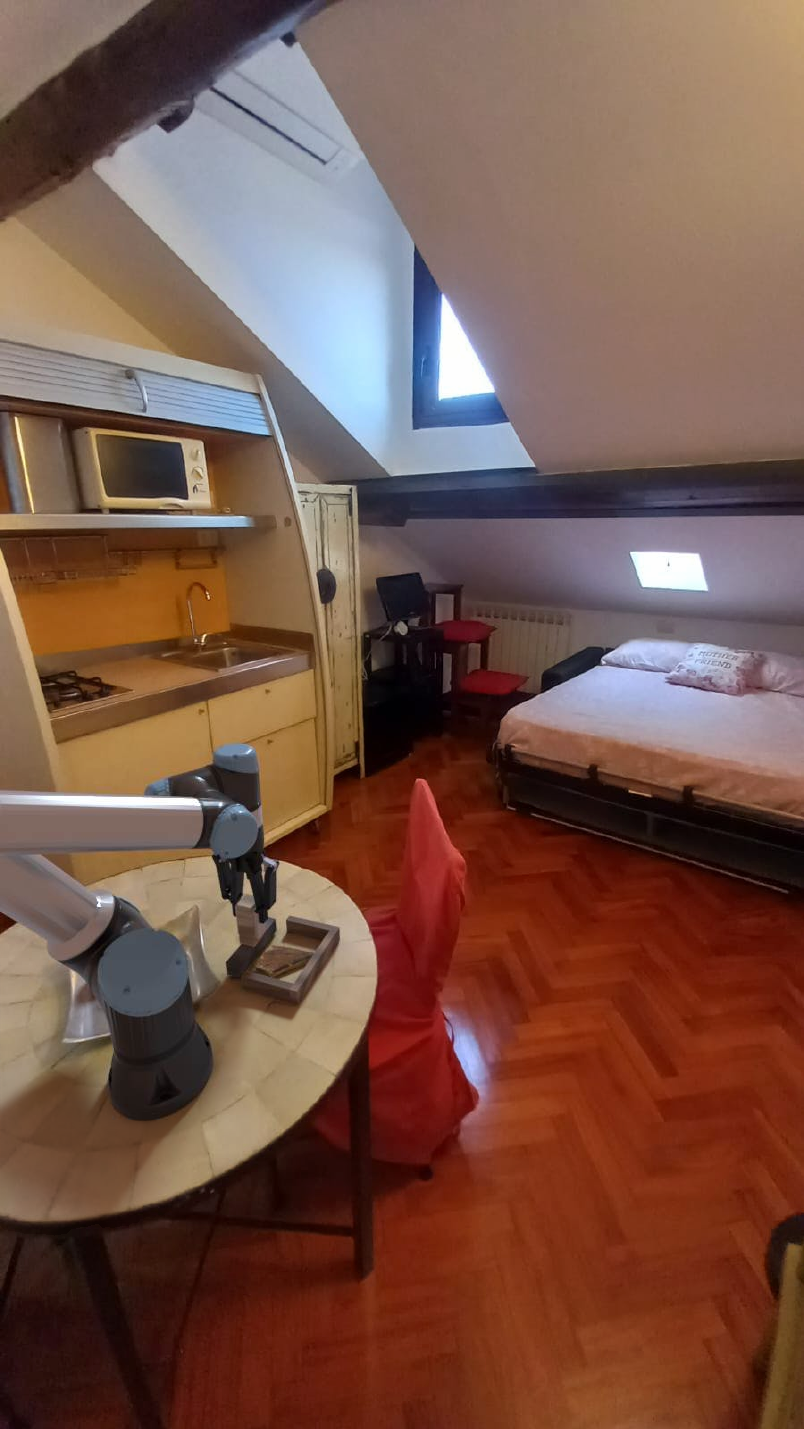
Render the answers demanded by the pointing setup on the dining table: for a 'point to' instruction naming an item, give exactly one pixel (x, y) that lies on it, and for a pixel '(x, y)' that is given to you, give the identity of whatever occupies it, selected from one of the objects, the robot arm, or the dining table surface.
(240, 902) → the scraper
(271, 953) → the shard
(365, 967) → the dining table surface
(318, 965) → the walnut bay
